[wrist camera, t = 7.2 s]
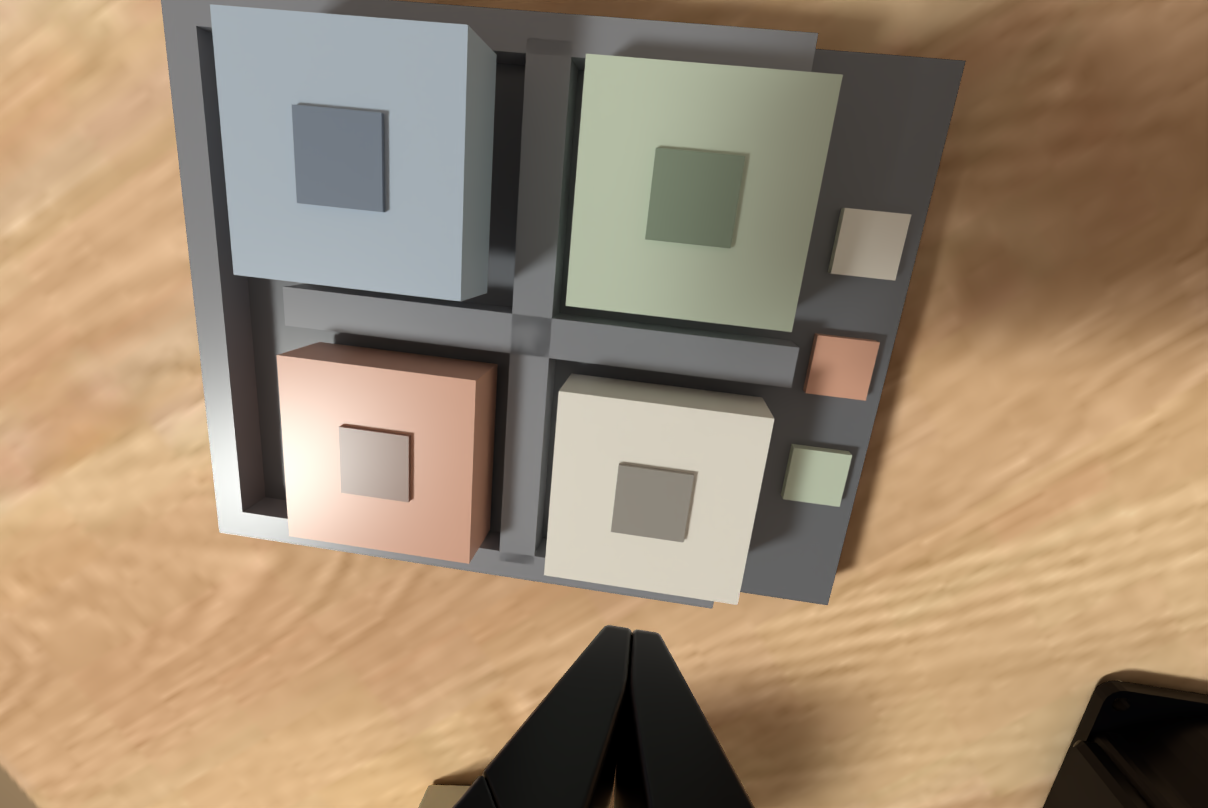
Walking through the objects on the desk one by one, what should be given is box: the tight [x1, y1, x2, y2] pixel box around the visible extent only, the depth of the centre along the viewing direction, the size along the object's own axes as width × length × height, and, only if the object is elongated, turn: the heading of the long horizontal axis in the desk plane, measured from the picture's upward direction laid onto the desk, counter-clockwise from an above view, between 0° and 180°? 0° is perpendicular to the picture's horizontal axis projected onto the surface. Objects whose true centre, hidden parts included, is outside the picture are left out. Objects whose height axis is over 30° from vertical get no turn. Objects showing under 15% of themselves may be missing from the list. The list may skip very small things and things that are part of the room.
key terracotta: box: [277, 342, 498, 564], centre depth 15 cm, size 5×5×2 cm
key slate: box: [210, 4, 497, 301], centre depth 12 cm, size 5×5×2 cm
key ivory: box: [544, 373, 774, 605], centre depth 15 cm, size 5×5×2 cm
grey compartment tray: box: [161, 0, 965, 608], centre depth 15 cm, size 18×14×2 cm
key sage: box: [566, 54, 843, 332], centre depth 13 cm, size 5×5×2 cm
